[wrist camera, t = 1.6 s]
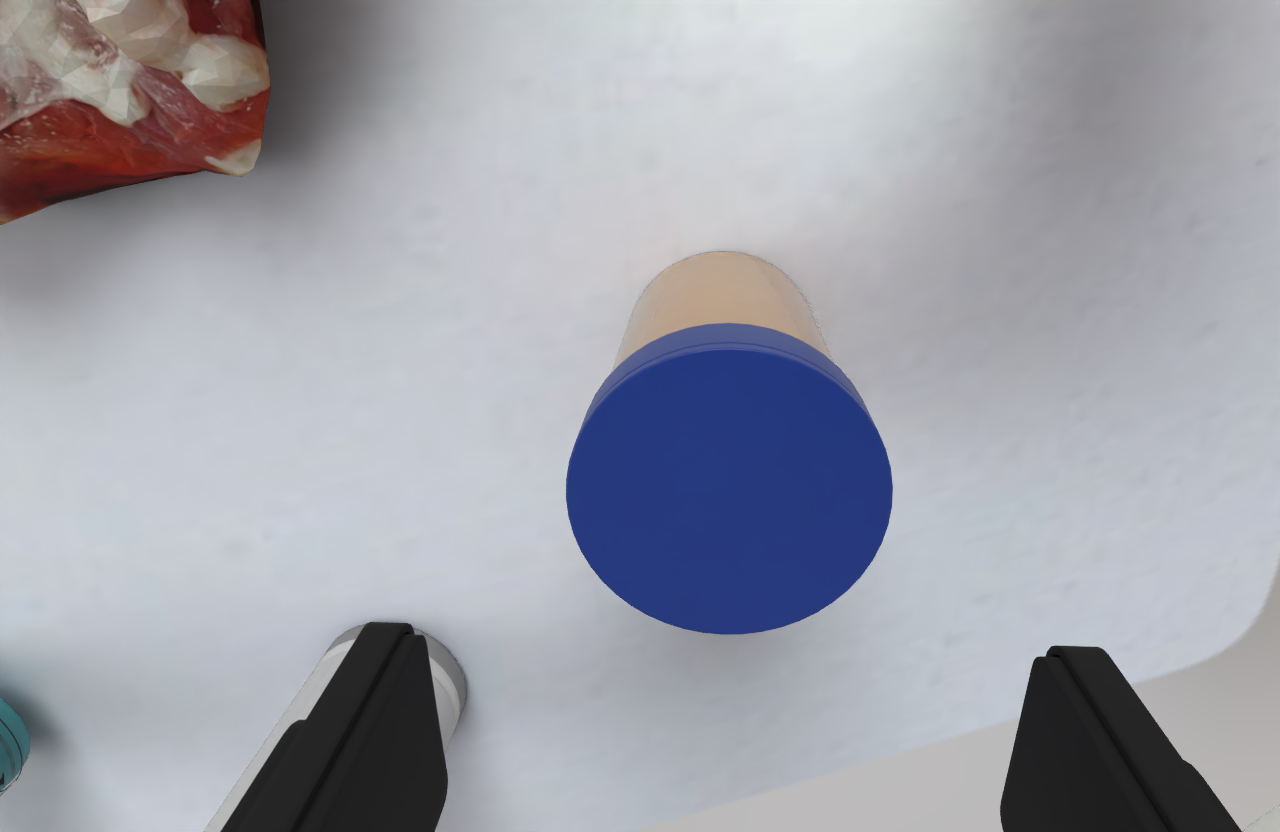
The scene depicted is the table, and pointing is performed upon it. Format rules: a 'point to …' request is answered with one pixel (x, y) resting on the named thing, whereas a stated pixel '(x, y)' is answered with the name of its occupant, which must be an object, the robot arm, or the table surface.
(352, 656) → the robot arm
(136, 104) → the meat
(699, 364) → the jar lid
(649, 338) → the jar
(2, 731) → the beverage bottle
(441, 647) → the travel mug
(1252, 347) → the table surface
